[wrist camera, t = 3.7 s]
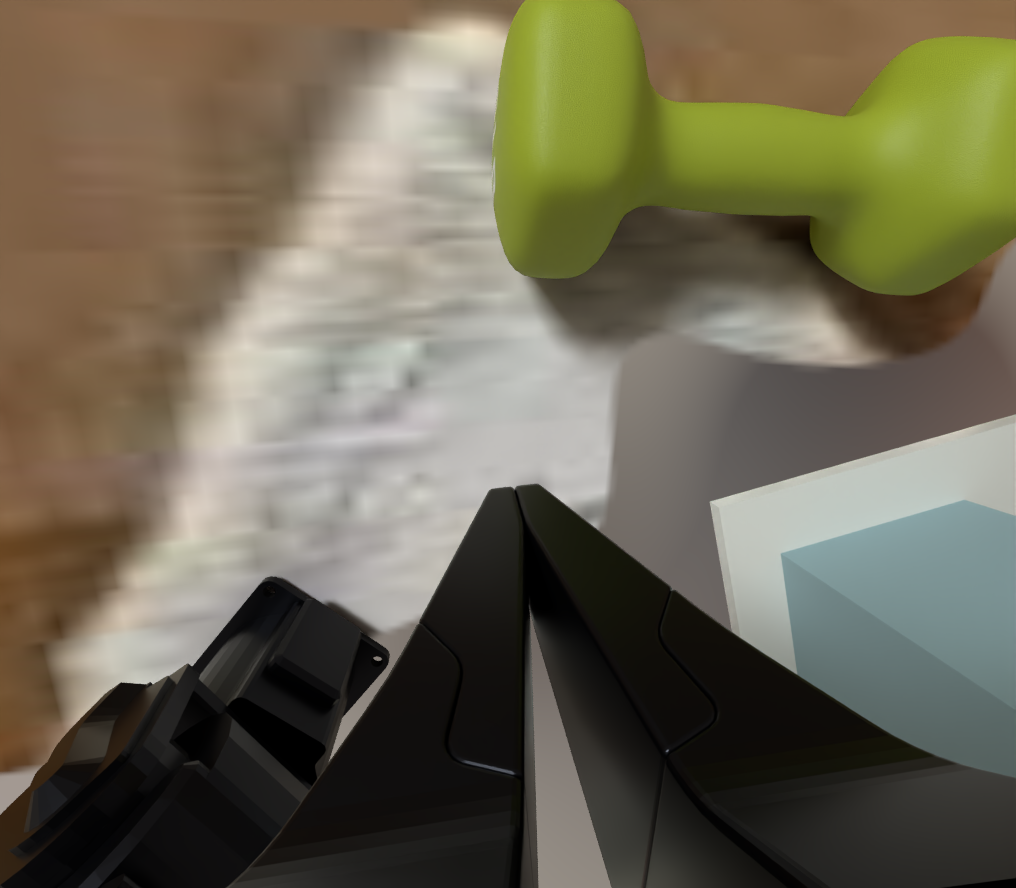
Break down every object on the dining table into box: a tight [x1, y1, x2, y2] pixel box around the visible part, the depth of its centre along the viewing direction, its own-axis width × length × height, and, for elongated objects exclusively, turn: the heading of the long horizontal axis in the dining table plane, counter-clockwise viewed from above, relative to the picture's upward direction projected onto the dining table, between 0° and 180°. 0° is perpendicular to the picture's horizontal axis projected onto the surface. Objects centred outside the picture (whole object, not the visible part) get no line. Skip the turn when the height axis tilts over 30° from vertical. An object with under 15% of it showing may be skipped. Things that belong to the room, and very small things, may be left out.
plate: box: [710, 414, 1016, 674], centre depth 24 cm, size 16×16×1 cm
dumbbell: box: [492, 0, 1016, 295], centre depth 16 cm, size 16×8×7 cm, turn 87°
